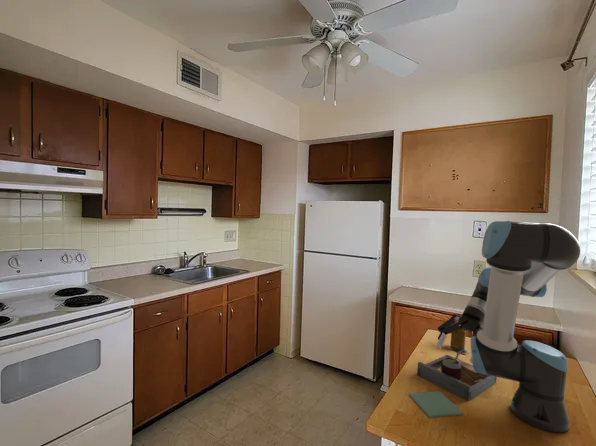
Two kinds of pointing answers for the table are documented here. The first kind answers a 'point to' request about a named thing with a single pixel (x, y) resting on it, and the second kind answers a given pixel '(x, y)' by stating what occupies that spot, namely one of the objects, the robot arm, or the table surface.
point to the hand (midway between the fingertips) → (454, 354)
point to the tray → (453, 380)
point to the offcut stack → (469, 372)
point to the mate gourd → (452, 367)
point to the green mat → (435, 404)
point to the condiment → (458, 341)
